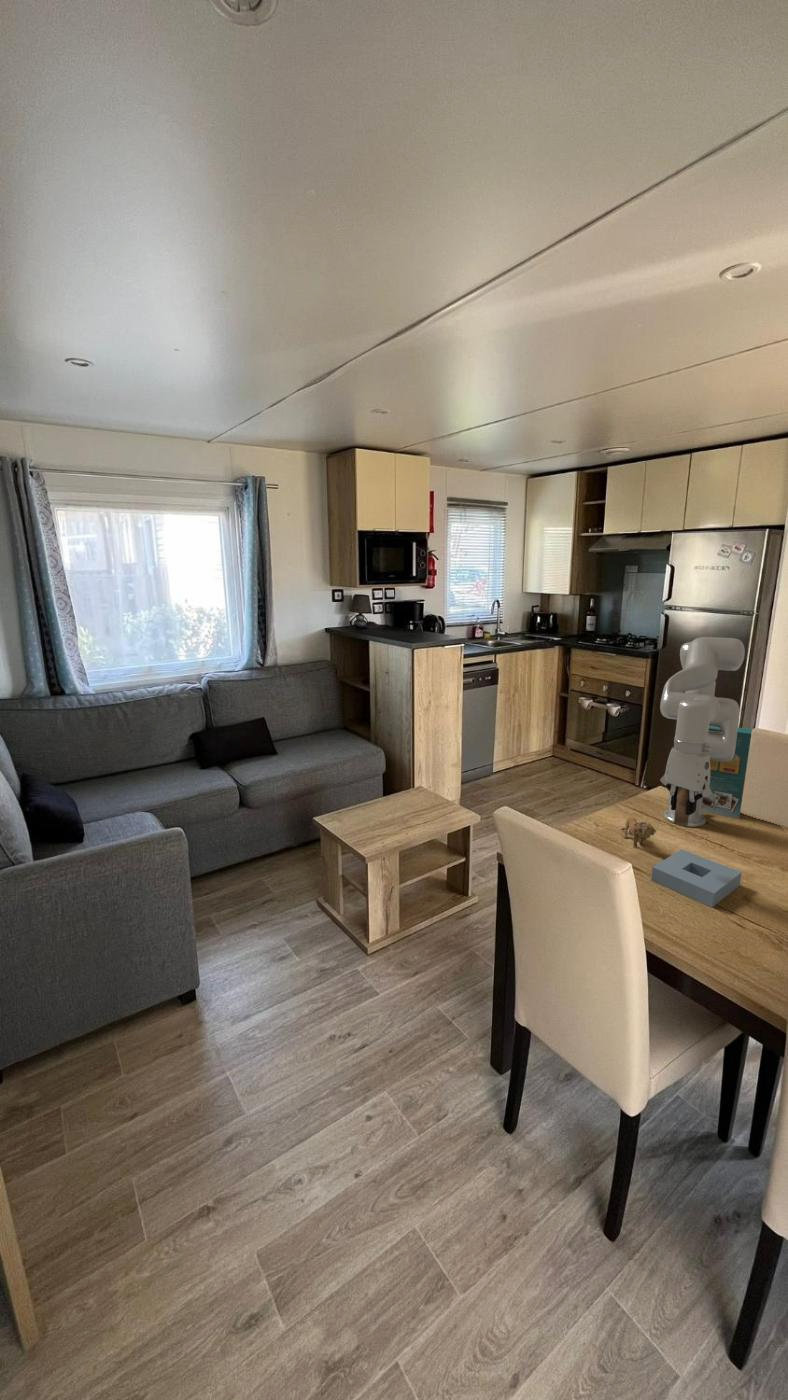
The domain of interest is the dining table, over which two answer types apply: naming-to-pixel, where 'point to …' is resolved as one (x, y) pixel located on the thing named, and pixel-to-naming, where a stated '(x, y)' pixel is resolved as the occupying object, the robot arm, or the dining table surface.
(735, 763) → the cake mix box
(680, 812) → the peg
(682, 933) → the dining table surface
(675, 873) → the socket block
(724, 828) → the dining table surface
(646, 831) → the lion figurine
